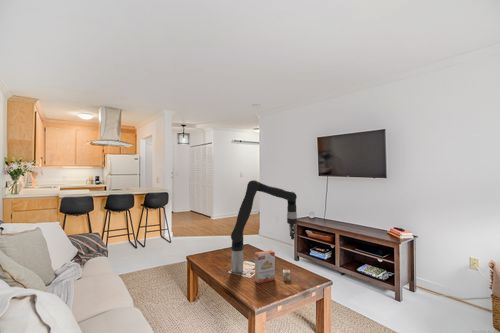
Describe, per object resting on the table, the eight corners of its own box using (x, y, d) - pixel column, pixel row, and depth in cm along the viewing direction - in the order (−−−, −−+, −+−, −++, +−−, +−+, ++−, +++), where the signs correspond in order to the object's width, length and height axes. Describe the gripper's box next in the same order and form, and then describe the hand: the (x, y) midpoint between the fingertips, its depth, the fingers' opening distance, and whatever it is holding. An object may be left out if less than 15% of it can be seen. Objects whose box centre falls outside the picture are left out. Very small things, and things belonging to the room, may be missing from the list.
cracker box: (258, 284, 186) (258, 254, 186) (254, 281, 192) (254, 252, 192) (275, 280, 193) (275, 251, 193) (271, 277, 198) (270, 249, 198)
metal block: (283, 280, 192) (283, 272, 192) (282, 277, 197) (282, 269, 197) (290, 280, 192) (290, 272, 192) (289, 277, 197) (289, 269, 197)
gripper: (286, 215, 213) (286, 235, 213) (288, 219, 199) (288, 240, 199) (295, 215, 213) (295, 235, 213) (298, 219, 199) (298, 240, 199)
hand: (292, 237), depth 206 cm, fingers open, 8 cm apart
